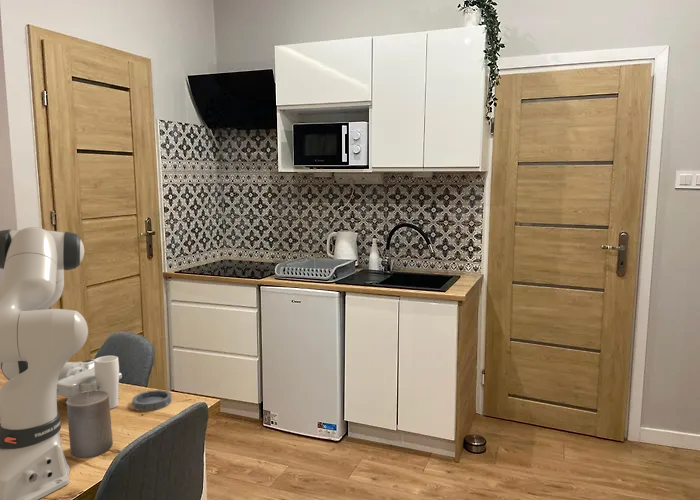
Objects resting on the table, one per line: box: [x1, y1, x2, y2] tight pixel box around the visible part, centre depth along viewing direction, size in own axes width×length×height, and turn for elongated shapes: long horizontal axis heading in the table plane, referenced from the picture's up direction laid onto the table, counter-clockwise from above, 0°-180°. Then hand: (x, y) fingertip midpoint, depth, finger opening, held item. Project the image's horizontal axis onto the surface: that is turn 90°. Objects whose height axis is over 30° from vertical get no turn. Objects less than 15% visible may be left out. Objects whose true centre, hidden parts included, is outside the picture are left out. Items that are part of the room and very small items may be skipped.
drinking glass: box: [94, 355, 120, 410], centre depth 161 cm, size 7×7×15 cm
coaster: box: [131, 389, 172, 412], centre depth 164 cm, size 11×11×2 cm
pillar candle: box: [65, 390, 114, 459], centre depth 135 cm, size 10×10×15 cm
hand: (109, 381), depth 160 cm, fingers open, 8 cm apart
